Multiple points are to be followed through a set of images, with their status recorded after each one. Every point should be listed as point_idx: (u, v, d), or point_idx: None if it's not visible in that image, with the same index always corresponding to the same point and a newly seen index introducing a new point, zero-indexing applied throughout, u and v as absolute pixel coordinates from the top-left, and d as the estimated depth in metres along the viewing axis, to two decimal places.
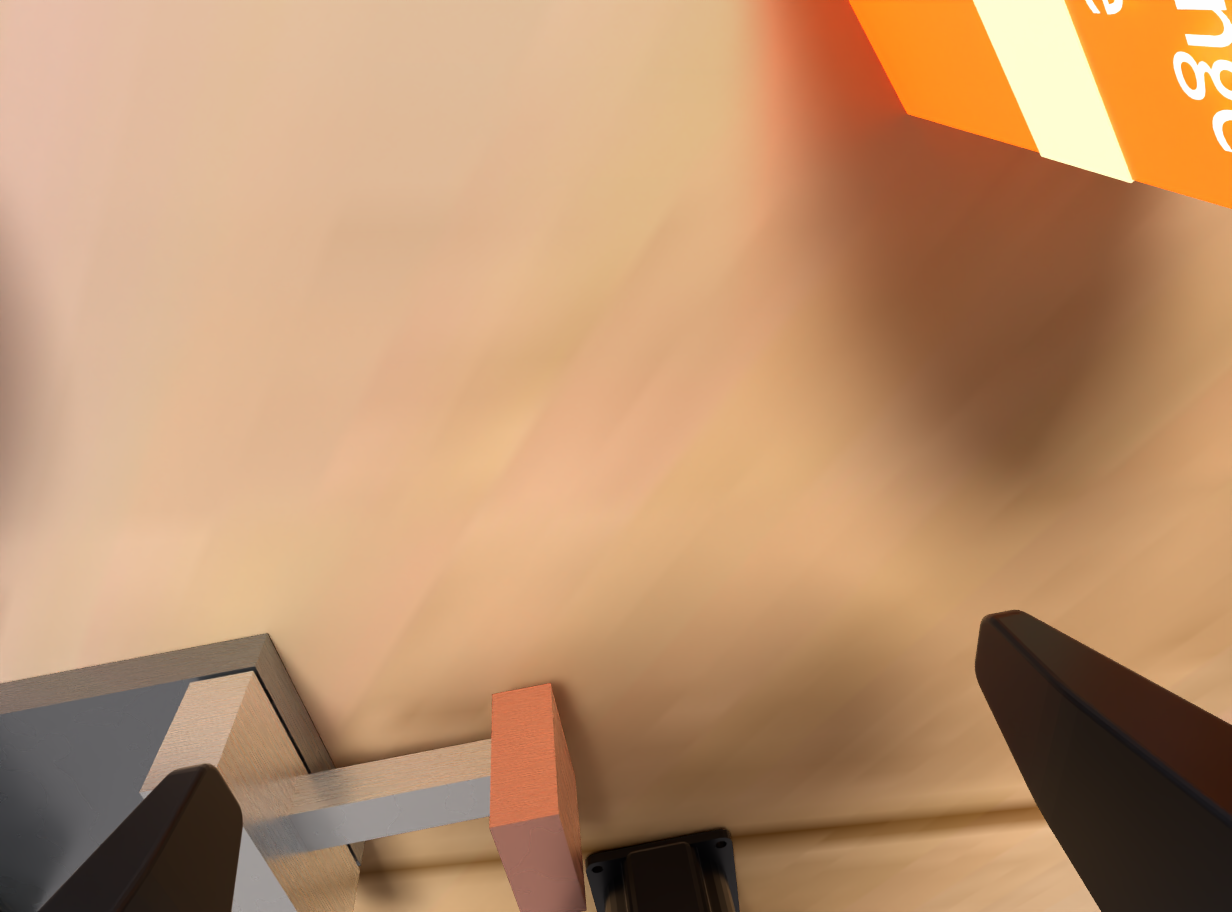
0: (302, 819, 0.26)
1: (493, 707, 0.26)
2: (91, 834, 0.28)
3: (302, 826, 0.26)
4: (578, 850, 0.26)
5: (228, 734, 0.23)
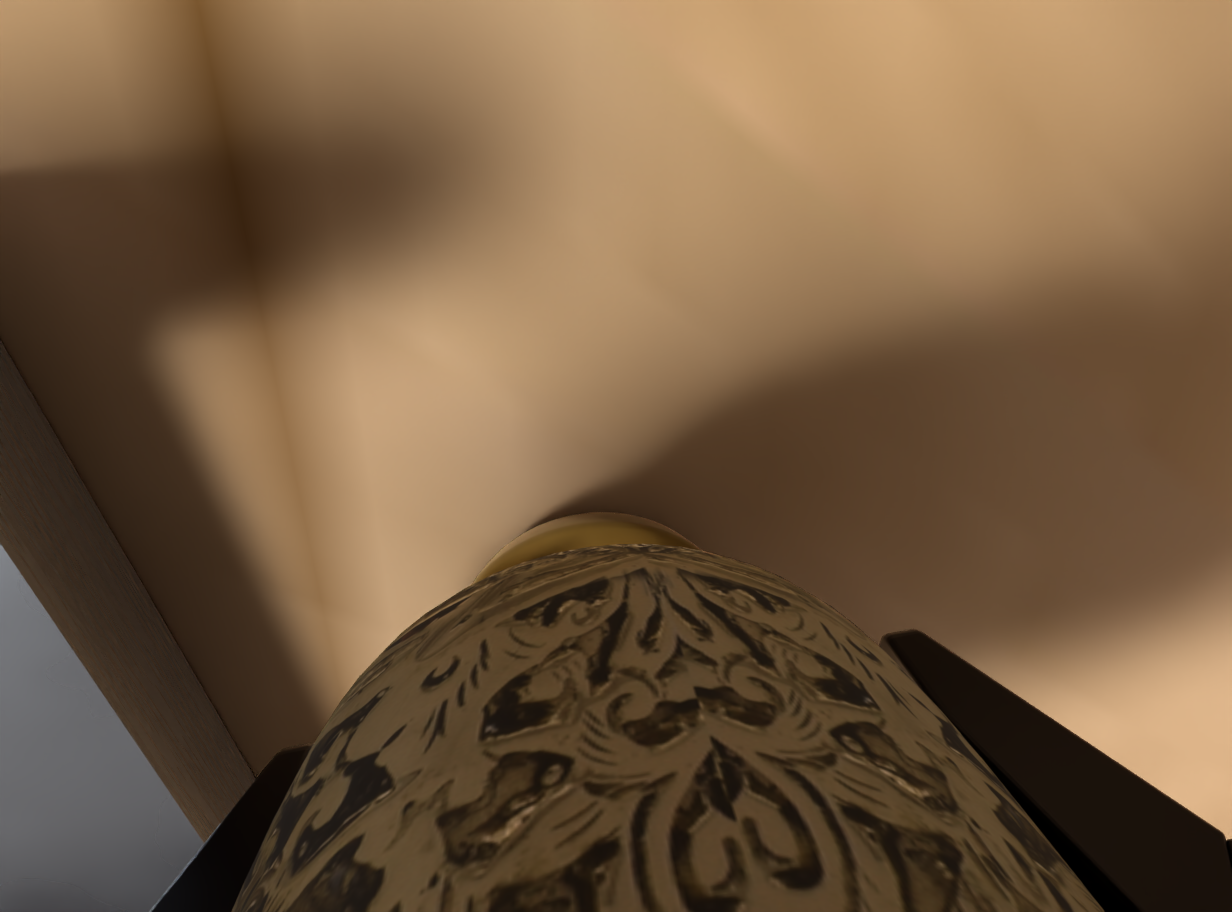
0: None
1: None
2: None
3: None
4: None
5: None
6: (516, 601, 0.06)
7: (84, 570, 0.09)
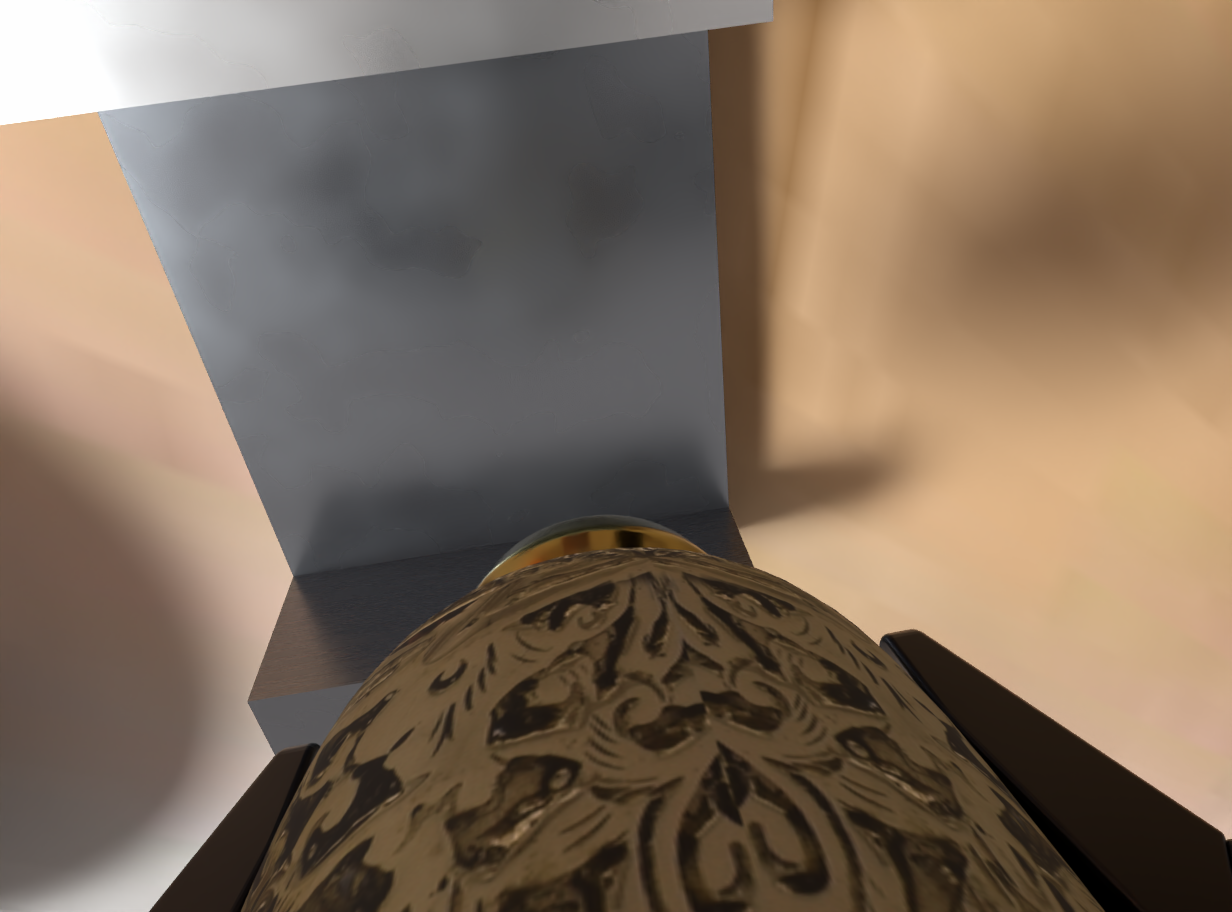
0: None
1: None
2: (509, 364, 0.17)
3: None
4: None
5: None
6: (522, 605, 0.06)
7: None
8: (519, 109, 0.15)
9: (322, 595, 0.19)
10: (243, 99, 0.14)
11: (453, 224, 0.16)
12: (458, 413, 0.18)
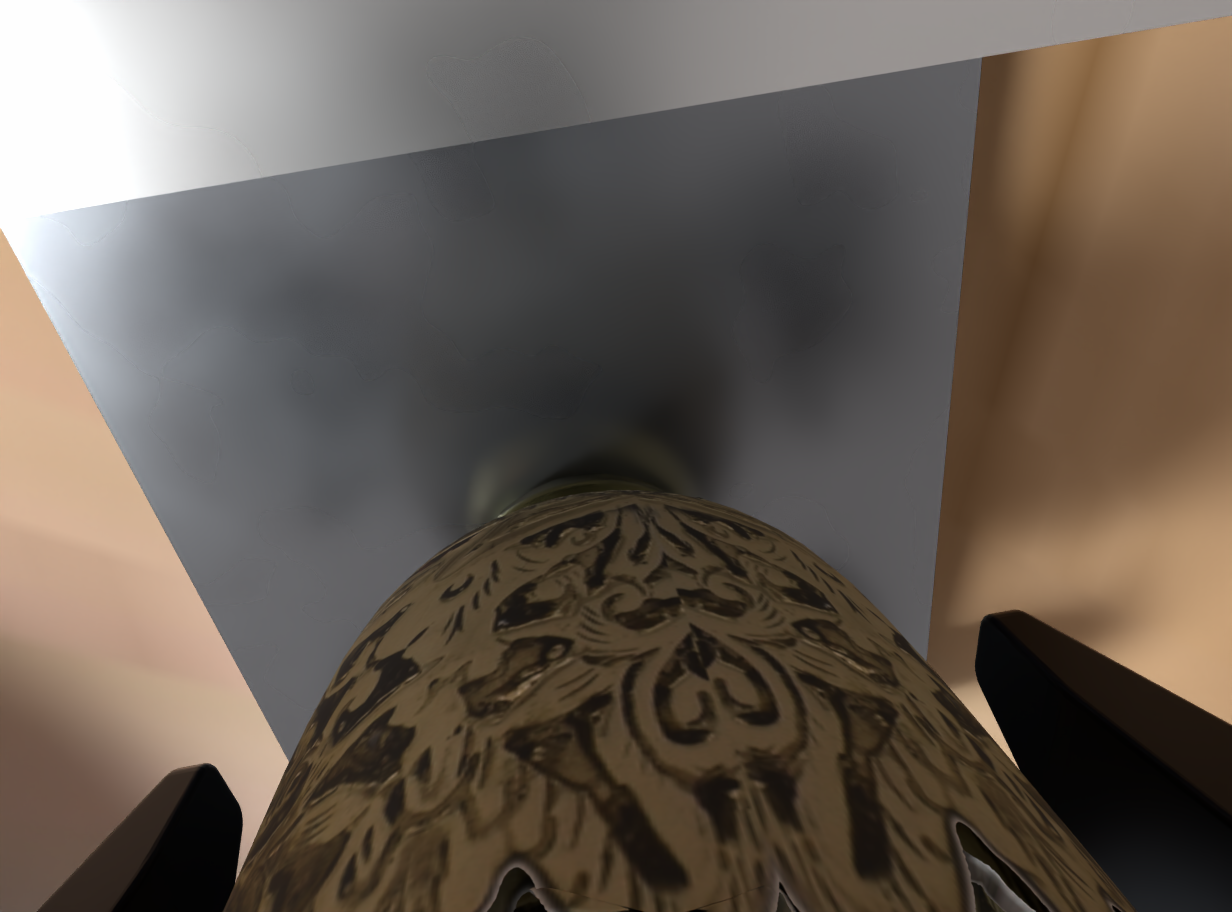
0: None
1: None
2: None
3: None
4: None
5: None
6: (522, 531, 0.07)
7: None
8: (671, 163, 0.09)
9: None
10: None
11: (558, 342, 0.10)
12: None
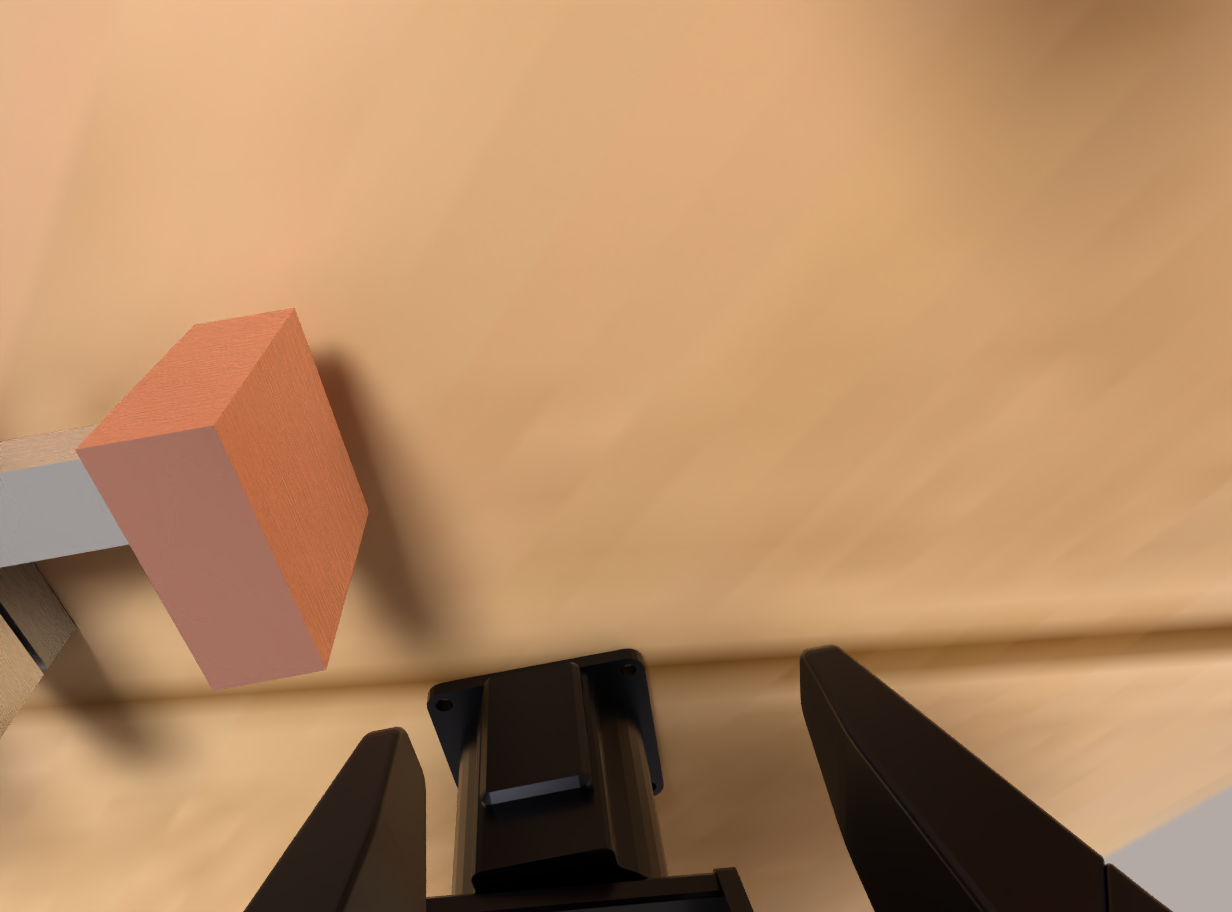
0: None
1: (185, 335, 0.15)
2: None
3: None
4: (326, 578, 0.15)
5: None
6: None
7: None
8: None
9: None
10: None
11: None
12: None
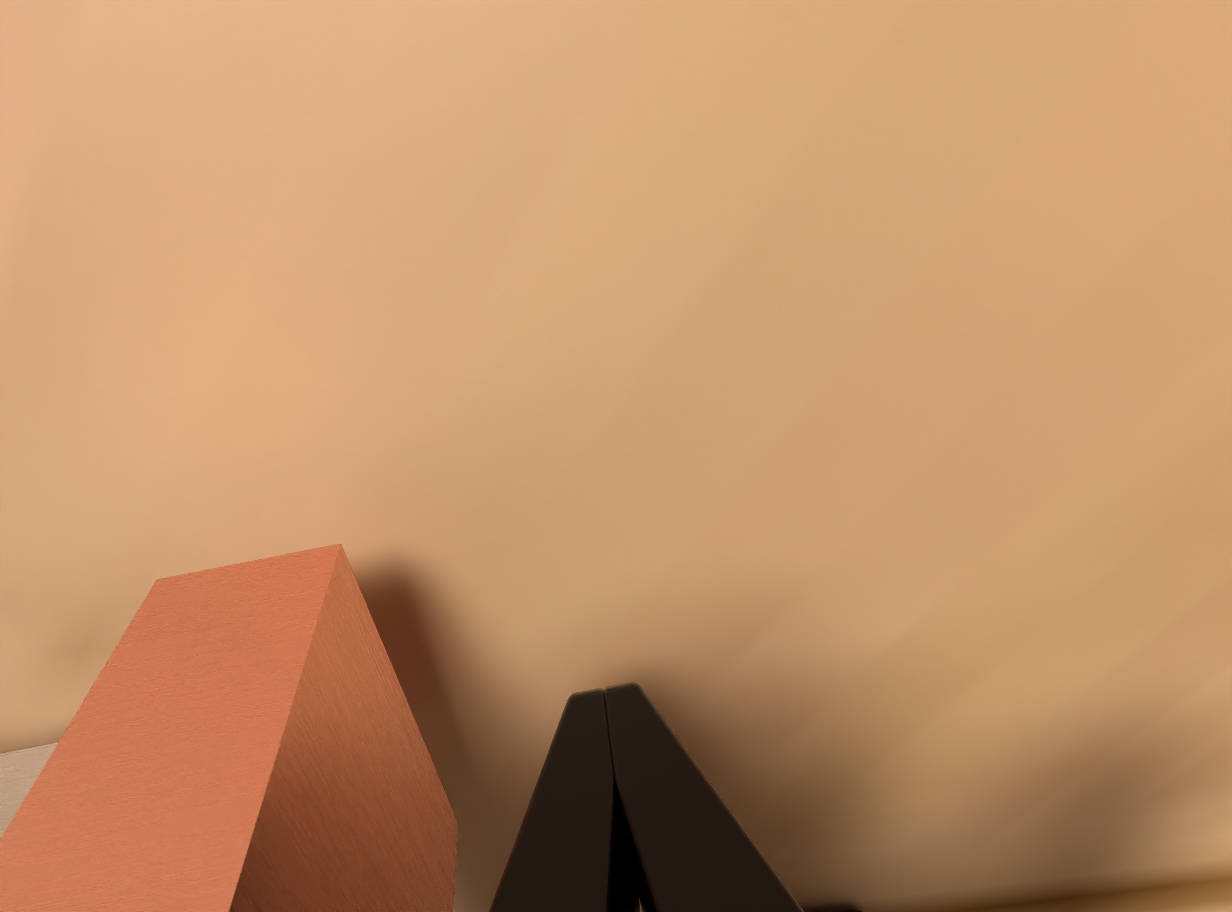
0: None
1: (138, 616, 0.08)
2: None
3: None
4: None
5: None
6: None
7: None
8: None
9: None
10: None
11: None
12: None
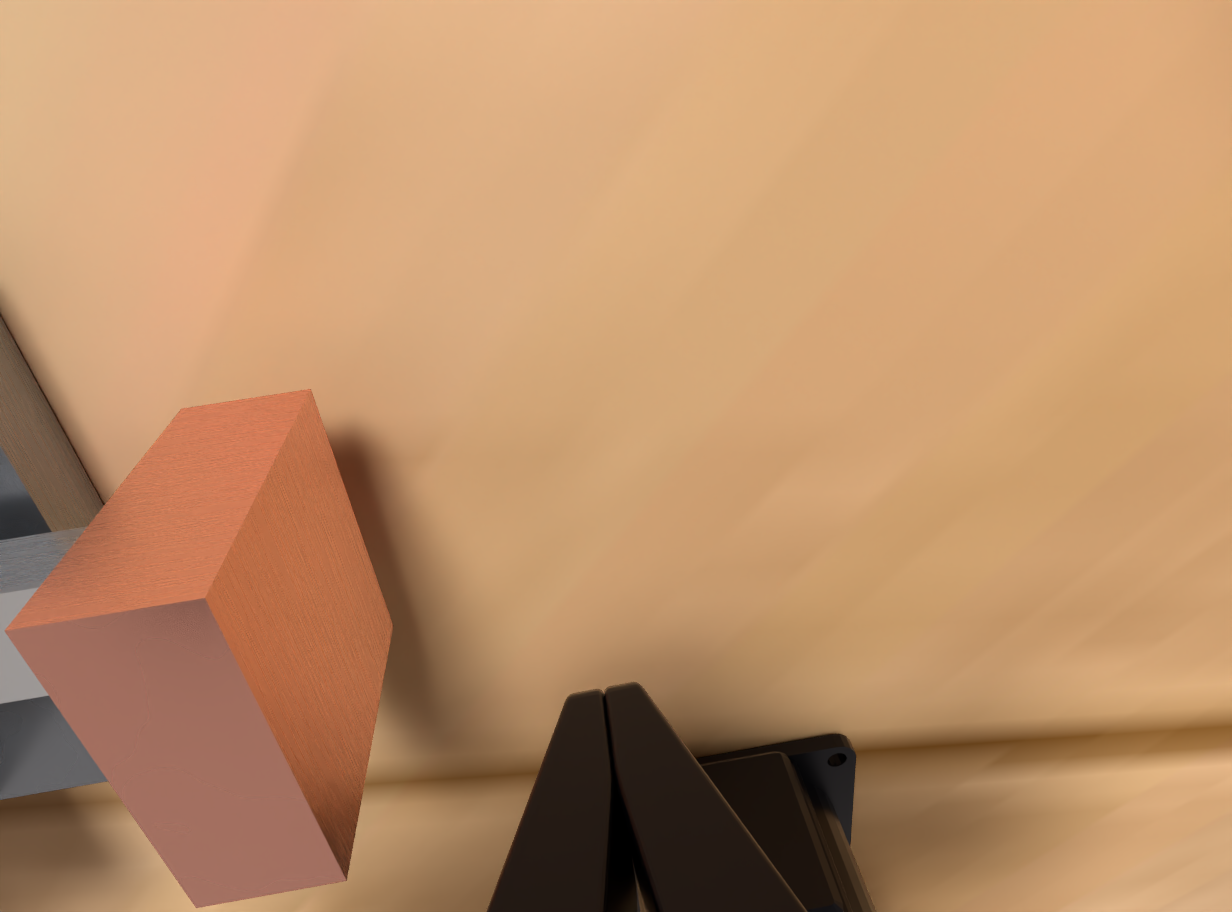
0: None
1: (170, 426, 0.12)
2: None
3: None
4: (347, 746, 0.11)
5: None
6: None
7: None
8: None
9: None
10: None
11: None
12: None
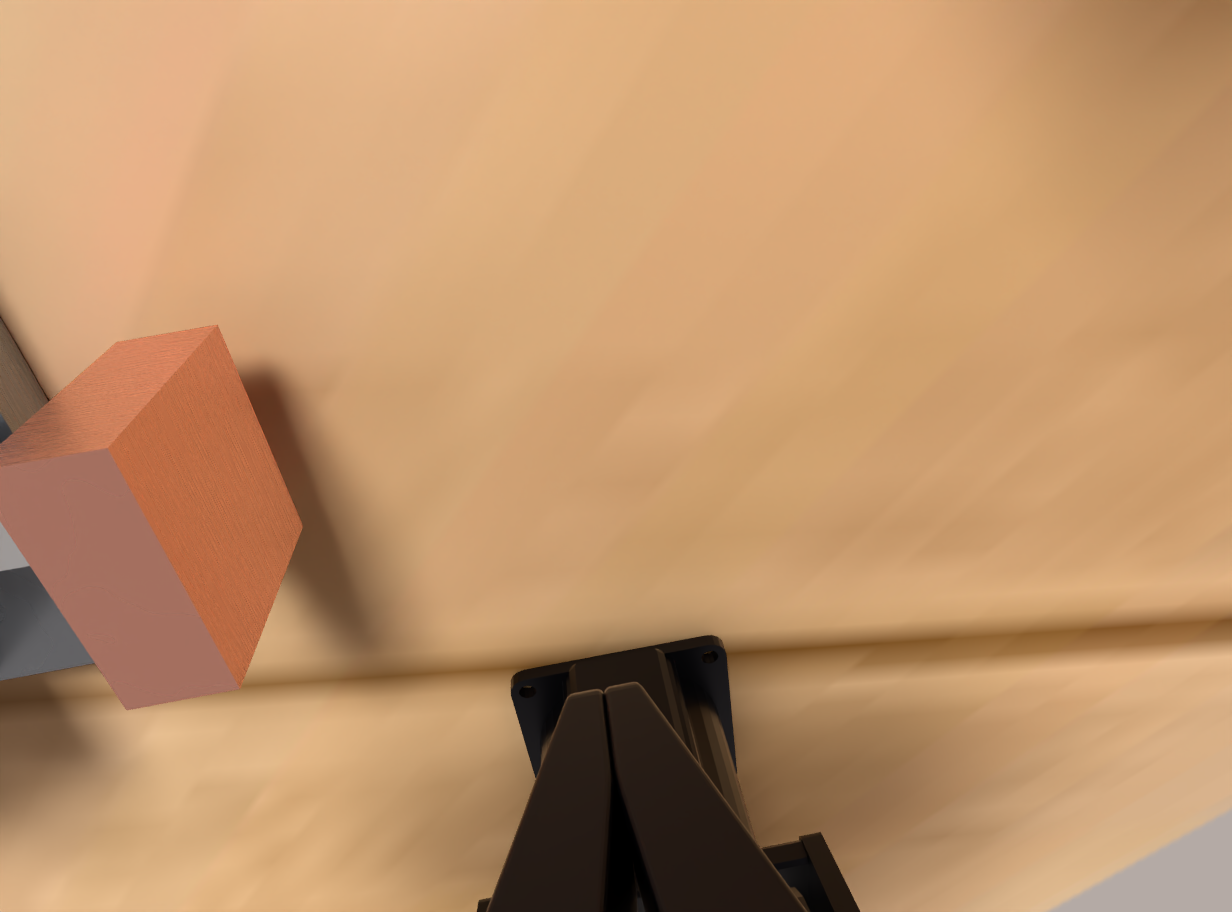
0: None
1: (105, 353, 0.15)
2: None
3: None
4: (245, 596, 0.15)
5: None
6: None
7: None
8: None
9: None
10: None
11: None
12: None
